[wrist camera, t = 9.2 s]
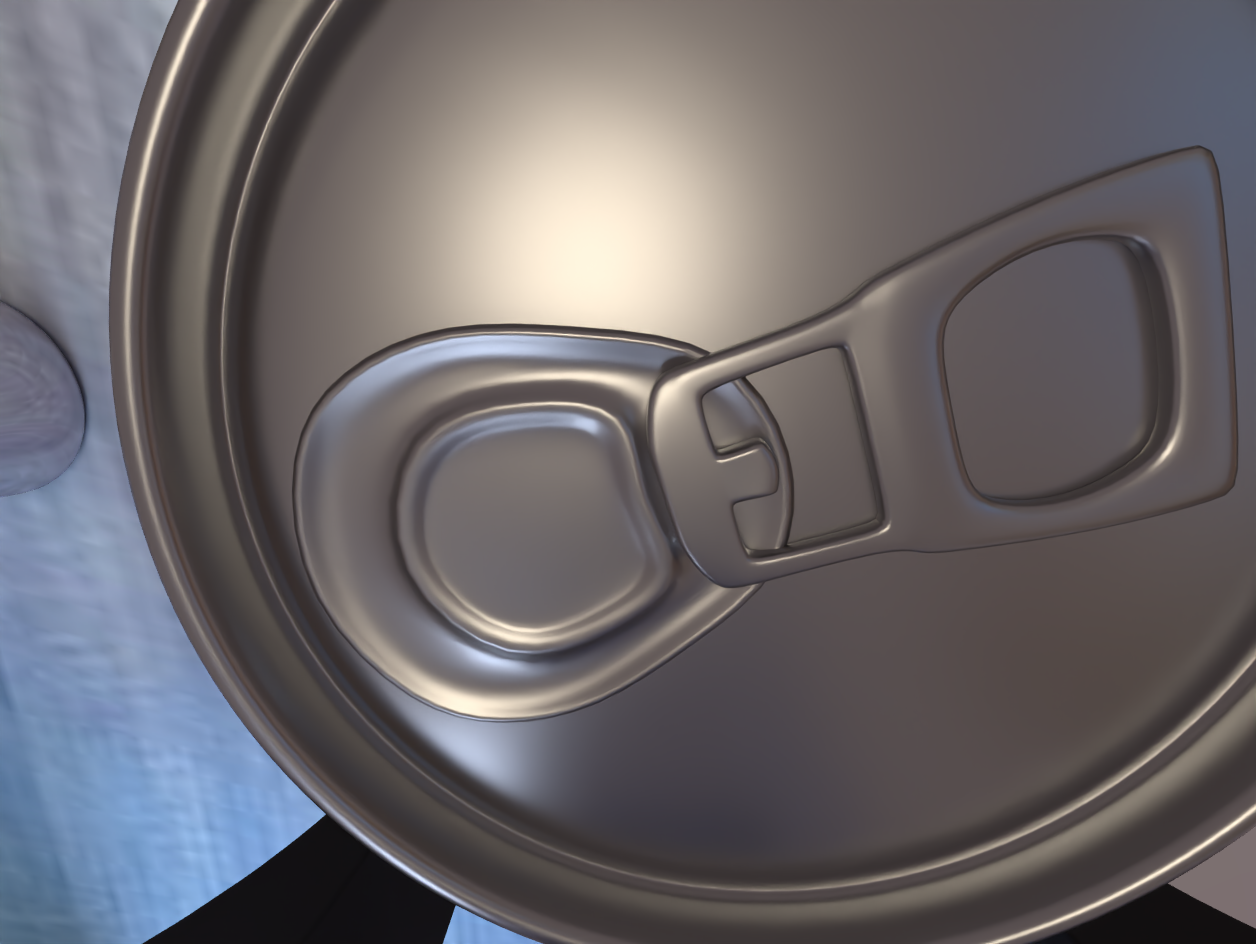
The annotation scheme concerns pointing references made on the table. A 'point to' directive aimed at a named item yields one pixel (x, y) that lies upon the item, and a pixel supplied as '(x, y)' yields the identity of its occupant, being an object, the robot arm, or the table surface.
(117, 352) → the can
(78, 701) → the table surface
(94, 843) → the table surface
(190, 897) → the table surface
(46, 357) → the beer glass
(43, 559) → the table surface
